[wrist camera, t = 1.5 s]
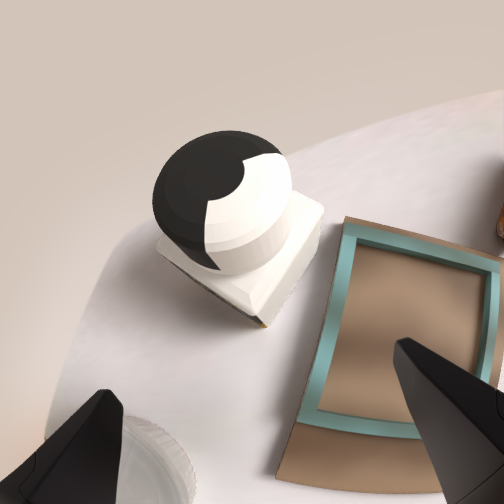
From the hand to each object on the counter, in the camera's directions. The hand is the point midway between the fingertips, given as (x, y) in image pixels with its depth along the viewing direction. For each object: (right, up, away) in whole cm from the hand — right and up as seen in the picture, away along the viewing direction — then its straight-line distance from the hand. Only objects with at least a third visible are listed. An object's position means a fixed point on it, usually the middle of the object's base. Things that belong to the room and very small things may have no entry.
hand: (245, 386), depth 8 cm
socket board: (+12, -5, +10) cm, 17 cm away
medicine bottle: (0, +3, +15) cm, 15 cm away
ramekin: (-9, -14, +10) cm, 19 cm away
